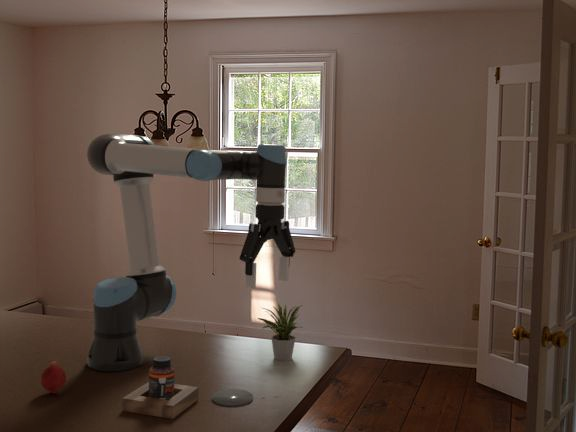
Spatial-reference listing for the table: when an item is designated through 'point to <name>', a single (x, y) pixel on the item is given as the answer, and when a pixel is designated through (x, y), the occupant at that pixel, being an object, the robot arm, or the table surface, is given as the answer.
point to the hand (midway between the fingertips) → (267, 284)
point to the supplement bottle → (161, 378)
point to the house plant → (282, 333)
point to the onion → (53, 378)
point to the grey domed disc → (232, 397)
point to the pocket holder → (160, 401)
